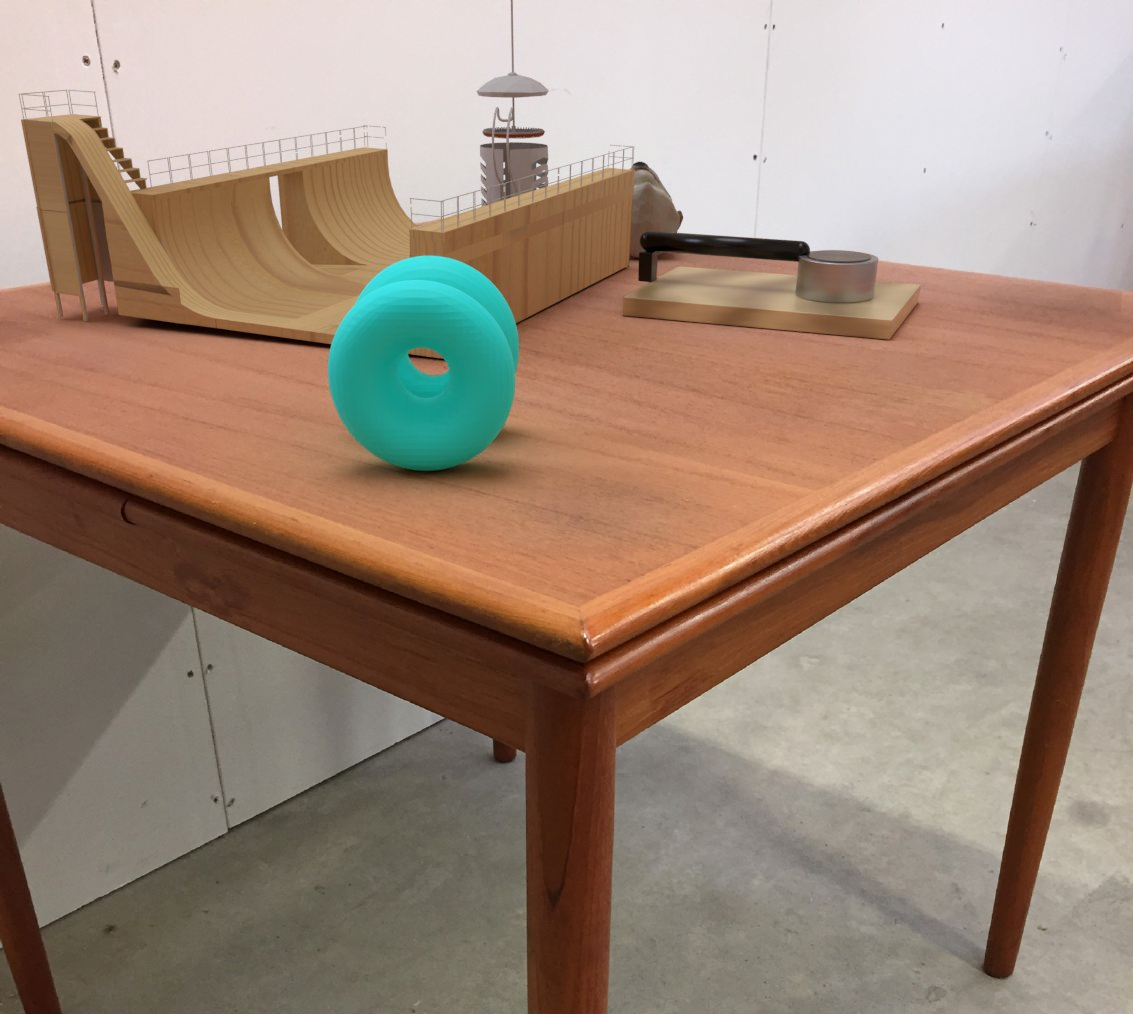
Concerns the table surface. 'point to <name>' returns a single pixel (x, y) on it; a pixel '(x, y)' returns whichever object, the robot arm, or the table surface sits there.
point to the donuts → (405, 394)
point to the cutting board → (767, 303)
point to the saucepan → (818, 271)
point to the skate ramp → (298, 233)
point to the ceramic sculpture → (650, 207)
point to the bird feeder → (514, 154)
